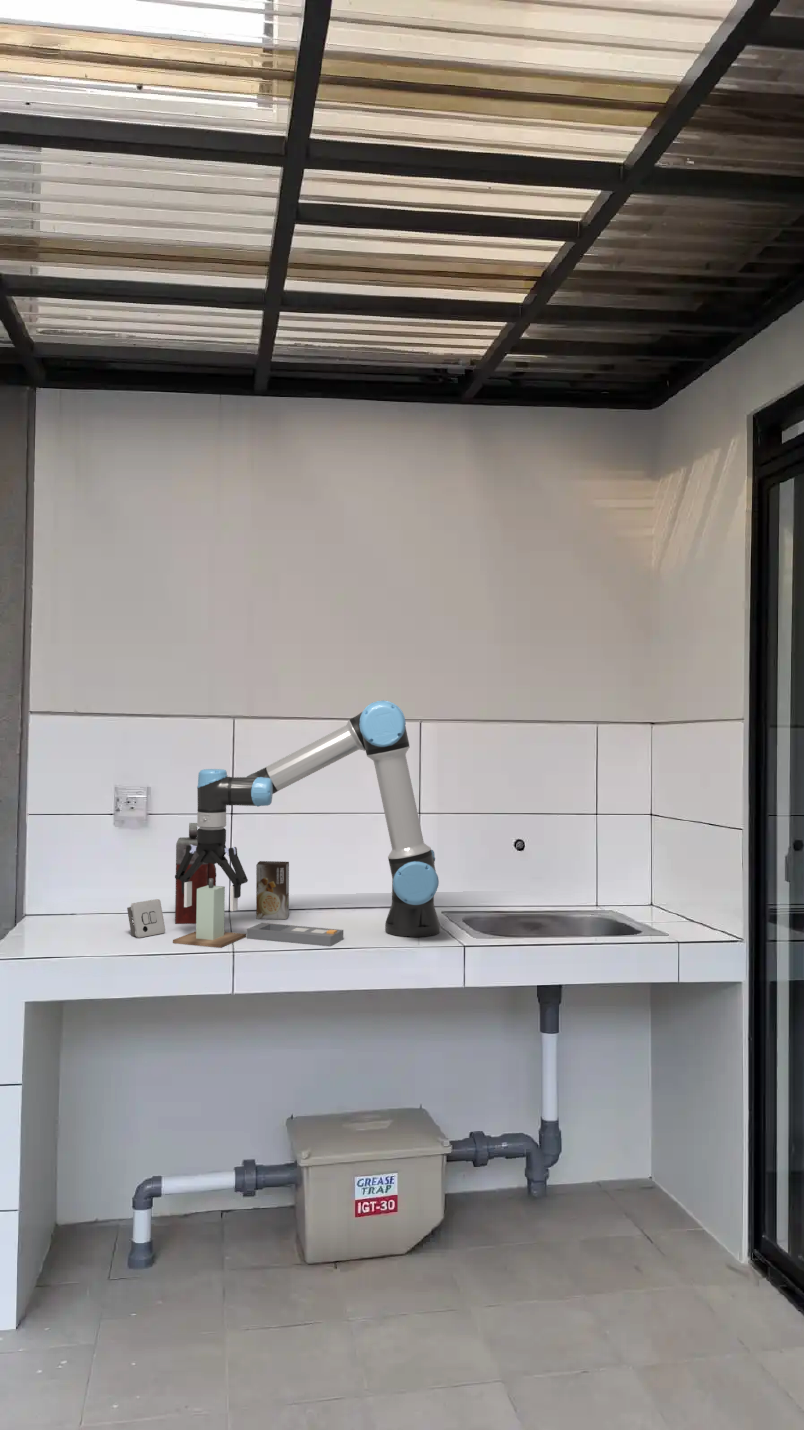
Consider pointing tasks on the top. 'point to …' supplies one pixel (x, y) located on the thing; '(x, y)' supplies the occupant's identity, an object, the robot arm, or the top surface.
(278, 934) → the power strip
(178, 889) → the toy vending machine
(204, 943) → the walnut pad
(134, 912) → the electrical switch
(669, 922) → the top surface
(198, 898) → the pale green block
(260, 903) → the coffee box
